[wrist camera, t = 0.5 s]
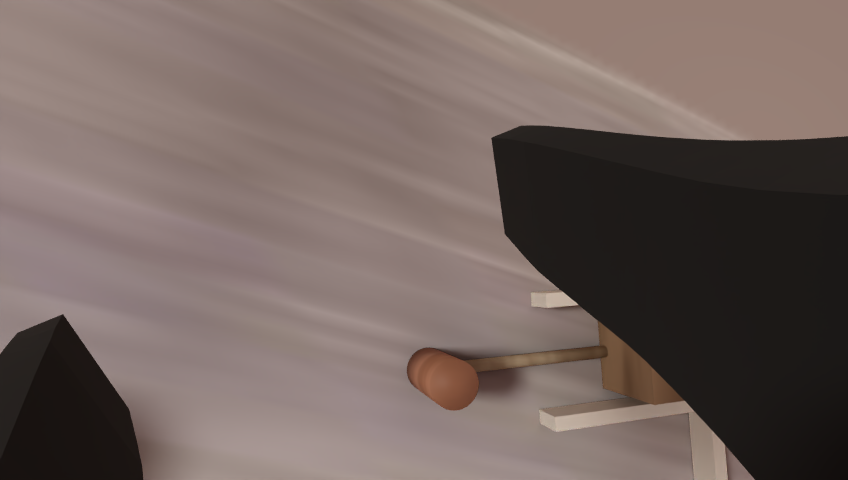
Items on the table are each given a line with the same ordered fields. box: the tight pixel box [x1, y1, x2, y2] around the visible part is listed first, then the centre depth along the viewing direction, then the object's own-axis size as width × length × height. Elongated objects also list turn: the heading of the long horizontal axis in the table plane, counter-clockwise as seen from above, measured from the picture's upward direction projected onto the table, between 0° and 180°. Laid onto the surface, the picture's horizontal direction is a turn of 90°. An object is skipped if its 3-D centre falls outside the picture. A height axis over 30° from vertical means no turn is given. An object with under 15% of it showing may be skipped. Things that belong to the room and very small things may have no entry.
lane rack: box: [531, 290, 728, 480], centre depth 36 cm, size 11×21×2 cm, turn 4°
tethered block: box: [407, 321, 684, 410], centre depth 34 cm, size 16×4×5 cm, turn 94°
